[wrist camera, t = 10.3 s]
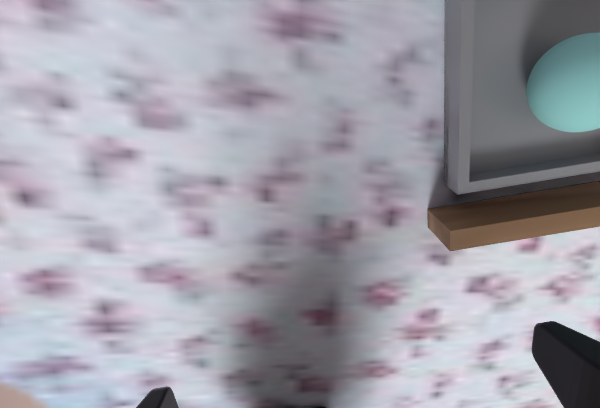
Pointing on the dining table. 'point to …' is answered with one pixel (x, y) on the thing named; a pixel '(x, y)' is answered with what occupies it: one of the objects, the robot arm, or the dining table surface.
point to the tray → (508, 93)
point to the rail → (517, 216)
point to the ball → (568, 85)
